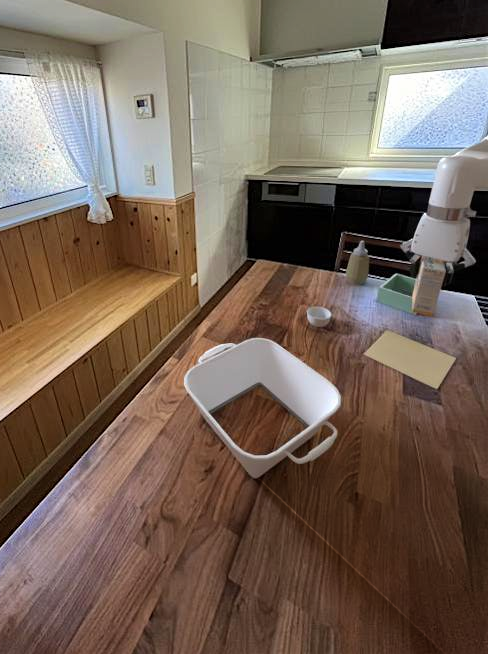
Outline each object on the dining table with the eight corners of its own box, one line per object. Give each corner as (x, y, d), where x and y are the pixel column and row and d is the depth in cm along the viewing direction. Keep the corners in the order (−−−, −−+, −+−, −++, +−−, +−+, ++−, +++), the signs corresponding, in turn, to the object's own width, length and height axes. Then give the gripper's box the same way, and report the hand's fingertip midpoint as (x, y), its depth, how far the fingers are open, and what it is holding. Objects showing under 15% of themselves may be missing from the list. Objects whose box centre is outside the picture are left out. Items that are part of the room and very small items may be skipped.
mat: (455, 360, 93) (456, 358, 92) (436, 392, 84) (437, 389, 83) (386, 332, 106) (386, 329, 105) (362, 356, 96) (363, 354, 96)
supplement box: (410, 296, 92) (421, 253, 87) (432, 300, 90) (444, 256, 85) (410, 312, 86) (422, 266, 81) (433, 317, 84) (446, 270, 78)
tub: (360, 453, 71) (370, 409, 65) (266, 536, 58) (269, 490, 53) (251, 361, 97) (252, 325, 92) (171, 405, 85) (167, 366, 80)
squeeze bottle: (350, 276, 139) (356, 235, 132) (370, 282, 134) (378, 240, 126) (340, 283, 135) (346, 241, 127) (360, 290, 129) (368, 247, 122)
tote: (430, 300, 120) (434, 284, 117) (415, 317, 112) (419, 300, 109) (392, 288, 129) (395, 273, 126) (375, 302, 121) (378, 287, 118)
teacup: (337, 334, 106) (339, 322, 104) (304, 333, 108) (305, 321, 106) (330, 316, 115) (331, 304, 113) (299, 315, 117) (300, 303, 115)
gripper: (498, 215, 74) (475, 286, 81) (410, 202, 86) (397, 265, 93) (490, 224, 69) (466, 298, 77) (399, 209, 82) (385, 274, 89)
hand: (428, 279), depth 85 cm, fingers closed on supplement box, 6 cm apart
